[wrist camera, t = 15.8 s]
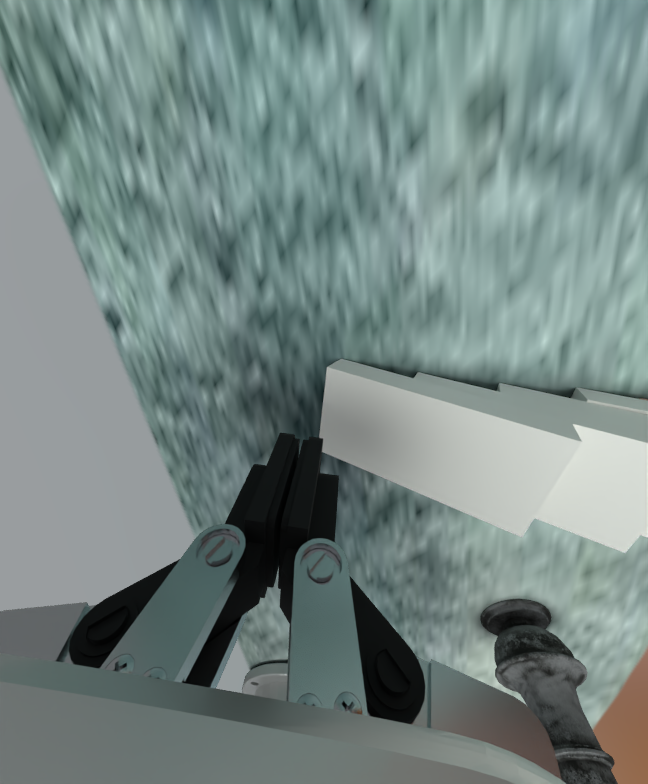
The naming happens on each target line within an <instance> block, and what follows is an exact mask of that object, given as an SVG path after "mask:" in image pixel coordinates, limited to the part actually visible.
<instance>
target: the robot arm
mask: <svg viewBox="0 0 648 784" xmlns="http://www.w3.org/2000/svg"><path fill="white" fill-rule="evenodd" d="M299 442H300V440H299V439H295V435H294V434H286V433H280V435H279V437H278V439H277V442H276V444H275V447H274V449H273V451H272V454H271V456H270V459H269V461H268V464H267V466H265V465H258V464H254V465H253V467H252V468H251V470H250V472H249V475H248V477H247V479H246V481H245V483H244V485H243V487H242V489H241V491H240V493H239V495H238V498H237V500H236V502H235V504H234V506H233V508H232V510H231V512H230V514H229V516H228V518H227V520H226V523H225V524H220V525H215V526H212V527H210V528H208V529H206V530H205V531H203V532H202V533H200V534H199V536H198V537H197V538H196V539H195V540H194V541H193V543H192V544H191V545H190V547H189V548H188V549H187V551H186V552H185V553H184V555H183V556H182V557H181V559H179V560H178V561H176V562H174V563H172V564H170V565H168V566H166V567H164V568H163V569H161V570H159V571H157V572H155V573H153V574H151V575H150V576H148V577H146V578H144V579H142V580H140V581H138V582H136V583H134V584H133V585H131V586H129V587H127V588H125V589H123V590H121V591H119V592H118V593H116V594H114V595H112V596H110V597H108V598H106V599H105V600H103V601H102V602H100V603H99V604H97V605H94V606H89V605H88V603H87V602H85V603H76V604H65V605H55V606H44V607H34V608H25V609H15V610H4V611H0V784H566V783H565V782H563V781H562V779H561V775H560V771H559V767H558V763H557V759H556V755H555V751H554V748H553V746H552V743H551V741H550V738H549V735H548V733H547V731H546V730H545V728H544V727H543V725H542V723H541V722H540V720H539V719H538V717H537V716H536V715H535V714H534V713H533V712H532V711H531V710H530V709H529V708H528V706H527V705H526V704H524V703H523V702H521V701H520V700H518V699H517V698H515V697H514V696H511V695H509V694H507V693H505V692H503V691H500V690H498V689H496V688H494V687H492V686H489V685H487V684H485V683H483V682H481V681H478V680H476V679H474V678H472V677H470V676H467V675H465V674H463V673H461V672H459V671H456V670H454V669H452V668H450V667H448V666H445V665H443V664H441V663H439V662H437V661H434V660H432V659H431V661H430V662H427V661H425V660H423V659H421V658H419V657H416V656H415V654H414V653H413V651H412V650H411V648H410V647H409V646H408V645H407V644H406V642H405V641H404V640H403V639H402V638H401V636H400V635H399V634H398V633H397V632H396V631H395V629H394V628H393V627H392V626H391V625H390V623H389V622H388V621H387V620H386V619H385V617H384V616H383V615H382V614H381V613H380V611H379V610H378V609H377V608H376V607H375V605H374V604H373V603H372V602H371V601H370V600H369V598H368V597H367V596H366V595H365V594H364V592H363V591H362V590H361V589H360V588H359V586H358V585H357V584H356V583H355V582H354V580H353V579H352V578H351V577H350V576H349V568H348V562H347V558H346V555H345V553H344V552H343V550H342V549H341V547H340V546H338V545H337V544H336V543H335V527H336V512H337V497H338V482H339V476H337V475H329V474H322V473H320V465H321V456H322V447H323V438H316V437H309V440H303V443H302V447H301V451H300V454H299ZM298 457H299V458H298ZM278 567H279V578H278V588H279V589H281V593H280V608H281V610H282V611H283V613H284V615H285V616H286V618H287V620H288V622H289V623H290V627H289V649H288V663H271V664H265V665H261V666H258V667H256V668H253V669H252V670H251V671H250V672H248V673H247V675H246V676H245V680H244V684H243V687H242V692H243V693H237V692H231V691H226V690H220V689H216V687H217V684H218V682H219V680H220V678H221V675H222V673H223V671H224V668H225V666H226V664H227V661H228V659H229V657H230V654H231V652H232V650H233V648H234V645H235V643H236V641H237V638H238V636H239V634H240V631H241V629H242V627H243V625H244V622H245V620H246V617H247V613H248V611H249V610H250V609H252V608H253V607H255V606H256V605H257V604H259V600H260V597H261V598H265V594H266V590H267V587H274V583H275V579H276V575H277V571H278Z"/></svg>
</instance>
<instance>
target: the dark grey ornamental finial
mask: <svg viewBox="0 0 648 784" xmlns="http://www.w3.org/2000/svg"><path fill="white" fill-rule="evenodd" d="M550 622H551V614H550V612H549V610H548V609H547V608H546V607H545V606H543V605H542V604H540V603H538V602H534V601H531V600H522V599H516V600H506V601H501V602H498V603H495V604H493V605H491V606H489V607H488V608H487V609H486V610H484V611H483V613H482V615H481V623H482V625H483V627H484V628H485V629H487V630H488V631H489V632H491V633H493V634H495V635H497V636H498V638H497V640H496V642H495V647H494V650H495V662H496V665H497V668H496V670H495V676H496V678H497V680H498V682H499V683H500V684H502V685H503V686H504V687H506V688H508V689H510V690H512V691H516V692H518V693H520V694H521V696H522V698H523V699H524V701H525V703H526V704H527V706H528V708H529V709H530V710H531V711H532V712H533V713H534V714H535V715H536V716H537V717H538V719H539V720H540V722H541V723H542V725H543V727H544V728H545V730H546V731H547V733H548V735H549V738H550V741H551V743H552V746H553V748H554V751H555V755H556V759H557V763H558V767H559V771H560V775H561V779H562V781H563V782H565V783H566V784H618V783H617V781H616V779H615V777H614V775H613V774H612V772H611V769H612V767H613V765H614V760H613V758H612V757H611V756H610V755H609V754H607V753H605V752H604V751H603V750H602V749H601V747H600V745H599V742H598V741H597V739H596V736H595V735H594V732H593V730H592V728H591V727H590V725H589V723H588V721H587V719H586V717H585V715H584V713H583V710H582V708H581V705H580V702H579V699H578V695H577V692H576V688H577V687H578V686H579V685H581V684H582V683H583V682H584V681H585V680H586V677H587V670H586V668H585V666H584V665H583V664H582V663H581V662H580V661H579V660H577V659H575V658H574V656H573V654H572V652H571V651H570V650H569V649H568V648H567V647H566V646H565V645H564V644H563V642H562V641H561V640H560V639H559V638H558V637H557V636H555V635H554V634H552V633H550V632H549V631H547V630H545V629H546V628H547V626H548V625H549V624H550Z"/></svg>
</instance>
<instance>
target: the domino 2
mask: <svg viewBox="0 0 648 784" xmlns="http://www.w3.org/2000/svg"><path fill="white" fill-rule="evenodd" d="M414 379H418V380H421V381H425V382H429V383H432V384H436V385H439V386H443V387H447V388H450V389H454V390H458V391H461V392H465V393H469V394H472V395H476V396H480V397H483V398H487V399H490V400H494V401H498V402H501V403H505V404H509V405H512V406H516V407H520V408H523V409H527V410H531V411H534V412H538V413H541V414H545V415H549V416H552V417H556V418H560V419H563V420H567V421H571V422H572V424H573V426H574V428H575V429H576V431H577V433H578V435H579V437H580V439H581V441H582V443H581V445H580V446H579V448H578V449H577V451H576V453H575V454H574V456H573V457H572V459H571V461H570V462H569V464H568V465H567V467H566V469H565V470H564V472H563V473H562V475H561V477H560V478H559V480H558V481H557V483H556V485H555V486H554V488H553V489H552V491H551V492H550V494H549V496H548V497H547V499H546V500H545V502H544V504H543V505H542V507H541V508H540V510H539V512H538V513H537V515H536V516H535V519H538V520H540V521H543V522H545V523H548V524H551V525H553V526H556V527H559V528H561V529H564V530H566V531H569V532H572V533H574V534H577V535H579V536H582V537H585V538H587V539H590V540H592V541H595V542H598V543H600V544H603V545H606V546H608V547H611V548H613V549H616V550H619V551H621V552H624V553H626V552H627V550H628V549H629V548H630V547H631V546H632V545H633V543H634V542H635V541H636V540H637V539H638V538H639V536H640V535H641V534H642V533H643V532H644V531H645V529H646V528H647V527H648V427H644V426H639V425H635V424H631V423H627V422H623V421H619V420H614V419H610V418H606V417H602V416H598V415H594V414H590V413H585V412H581V411H577V410H573V409H569V408H565V407H561V406H556V405H552V404H548V403H544V402H540V401H536V400H531V399H527V398H523V397H519V396H515V395H511V394H507V393H502V392H498V391H494V390H490V389H486V388H482V387H478V386H473V385H469V384H465V383H461V382H457V381H453V380H448V379H444V378H440V377H436V376H432V375H428V374H424V373H419V372H418V373H417V374H416V375H415V377H414Z"/></svg>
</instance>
